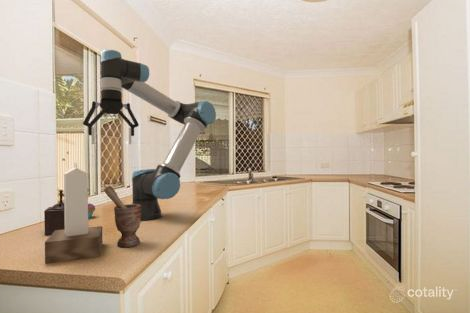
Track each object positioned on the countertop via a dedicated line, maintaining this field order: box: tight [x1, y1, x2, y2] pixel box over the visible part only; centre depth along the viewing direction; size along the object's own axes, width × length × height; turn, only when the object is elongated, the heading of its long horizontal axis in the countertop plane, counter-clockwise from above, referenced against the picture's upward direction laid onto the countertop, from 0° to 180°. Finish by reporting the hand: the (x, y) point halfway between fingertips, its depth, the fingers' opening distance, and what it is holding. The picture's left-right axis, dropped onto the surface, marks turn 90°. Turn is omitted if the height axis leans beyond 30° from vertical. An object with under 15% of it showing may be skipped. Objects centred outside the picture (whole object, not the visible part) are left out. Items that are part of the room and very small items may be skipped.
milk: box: [63, 162, 89, 237], centre depth 92 cm, size 6×6×22 cm
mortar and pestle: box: [104, 185, 142, 248], centre depth 99 cm, size 12×9×20 cm
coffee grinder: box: [43, 189, 90, 236], centre depth 119 cm, size 16×11×18 cm
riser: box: [44, 225, 103, 264], centre depth 92 cm, size 14×14×6 cm
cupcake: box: [88, 203, 96, 220], centre depth 142 cm, size 9×8×12 cm
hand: (112, 144), depth 117 cm, fingers open, 13 cm apart
